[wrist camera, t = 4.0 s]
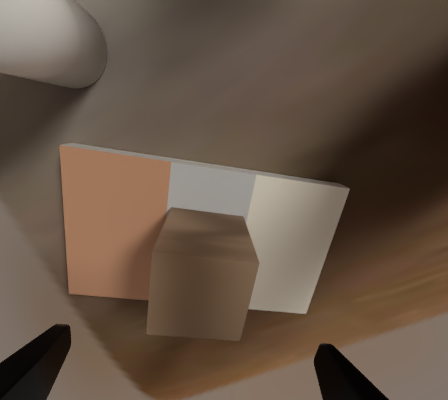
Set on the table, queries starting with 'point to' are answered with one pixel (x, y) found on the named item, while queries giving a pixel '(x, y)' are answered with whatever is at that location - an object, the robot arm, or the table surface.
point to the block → (201, 276)
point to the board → (194, 200)
